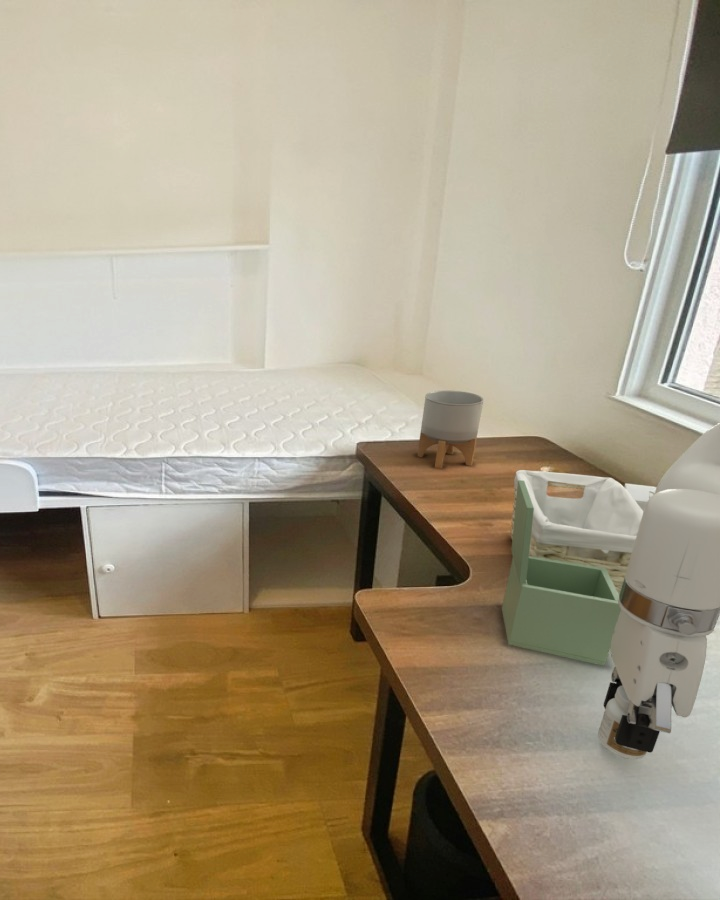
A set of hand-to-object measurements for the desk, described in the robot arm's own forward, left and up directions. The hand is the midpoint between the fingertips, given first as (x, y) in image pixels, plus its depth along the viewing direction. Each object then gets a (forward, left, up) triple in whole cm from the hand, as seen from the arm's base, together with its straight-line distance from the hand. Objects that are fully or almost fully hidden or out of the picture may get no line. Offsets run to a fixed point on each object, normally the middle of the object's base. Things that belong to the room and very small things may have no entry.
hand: (626, 727), depth 65 cm
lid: (+10, -22, +13) cm, 27 cm away
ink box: (-13, -56, -5) cm, 57 cm away
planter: (+17, -92, -5) cm, 93 cm away
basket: (-1, -43, -5) cm, 43 cm away
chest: (+4, -22, -4) cm, 22 cm away
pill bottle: (0, 0, -3) cm, 3 cm away
